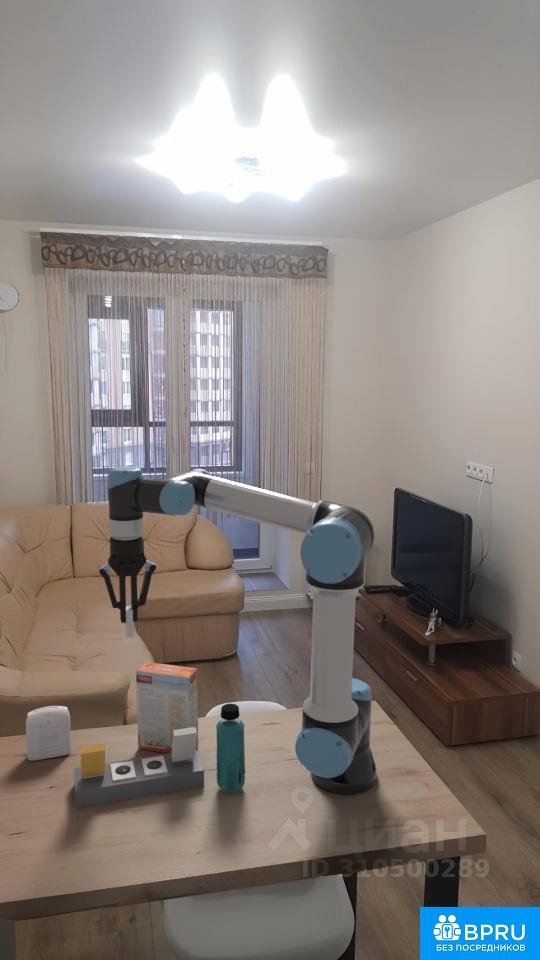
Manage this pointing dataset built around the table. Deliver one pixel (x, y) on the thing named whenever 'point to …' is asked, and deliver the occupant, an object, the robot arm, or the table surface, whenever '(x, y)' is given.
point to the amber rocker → (92, 760)
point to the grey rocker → (184, 744)
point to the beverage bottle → (230, 749)
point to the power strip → (137, 779)
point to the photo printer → (48, 733)
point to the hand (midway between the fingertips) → (129, 634)
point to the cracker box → (165, 704)
